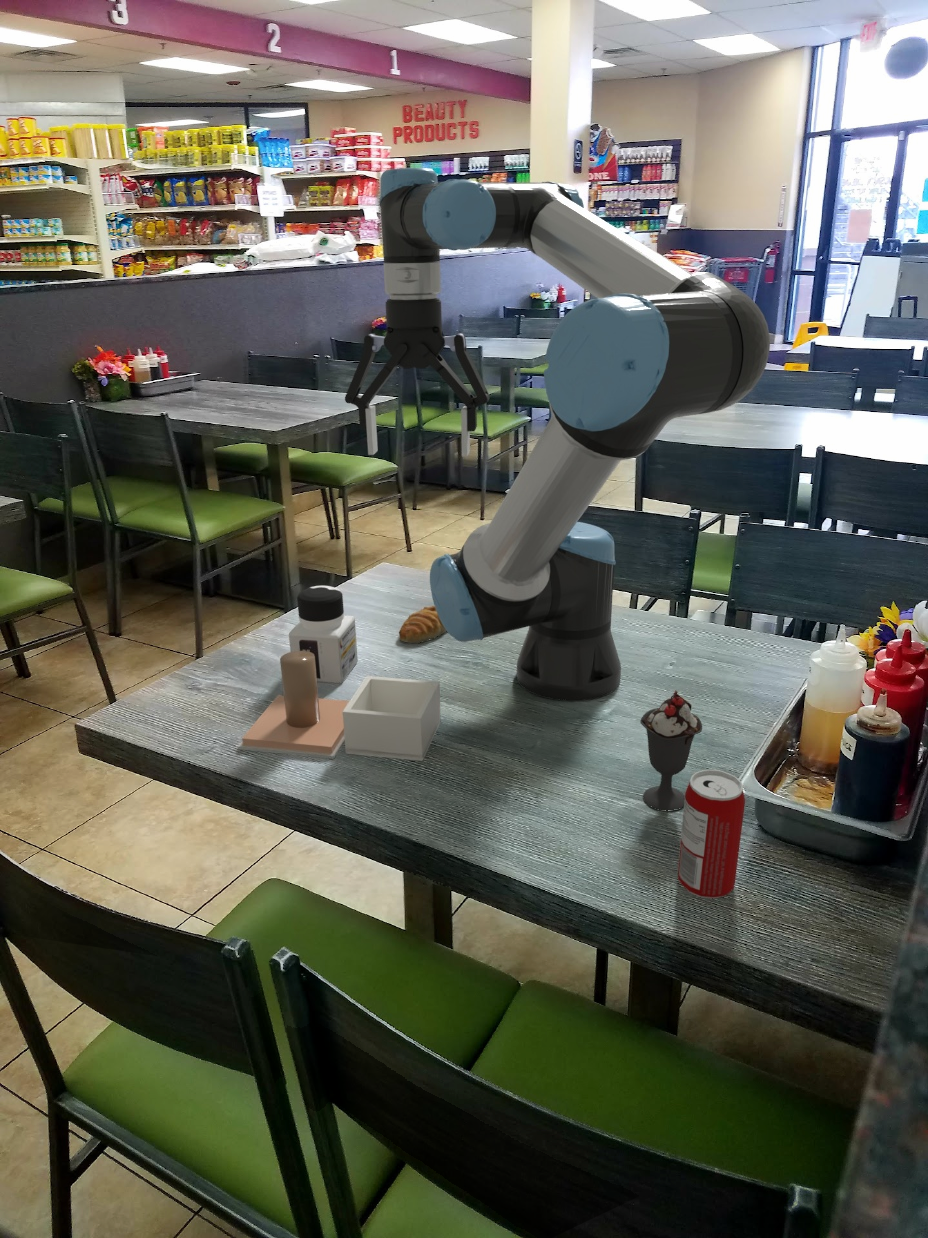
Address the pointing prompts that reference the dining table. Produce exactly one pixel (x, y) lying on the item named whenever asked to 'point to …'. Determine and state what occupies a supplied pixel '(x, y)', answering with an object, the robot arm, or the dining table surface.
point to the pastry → (422, 626)
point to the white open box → (392, 718)
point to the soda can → (711, 833)
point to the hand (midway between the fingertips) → (419, 453)
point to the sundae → (669, 748)
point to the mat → (294, 752)
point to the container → (325, 633)
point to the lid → (299, 712)
